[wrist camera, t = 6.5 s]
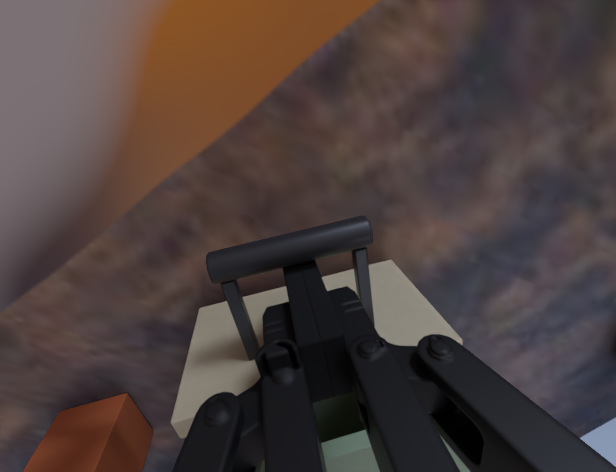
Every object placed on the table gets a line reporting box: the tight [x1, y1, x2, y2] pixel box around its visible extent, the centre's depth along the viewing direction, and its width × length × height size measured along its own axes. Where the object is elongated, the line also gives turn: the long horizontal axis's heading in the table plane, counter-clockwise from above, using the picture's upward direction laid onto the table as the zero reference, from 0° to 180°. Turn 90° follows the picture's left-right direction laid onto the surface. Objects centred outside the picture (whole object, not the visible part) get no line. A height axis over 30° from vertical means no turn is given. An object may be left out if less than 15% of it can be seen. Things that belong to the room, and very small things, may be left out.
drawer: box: [171, 216, 463, 443], centre depth 19 cm, size 25×13×8 cm, turn 10°
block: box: [23, 393, 153, 472], centre depth 21 cm, size 5×5×6 cm
